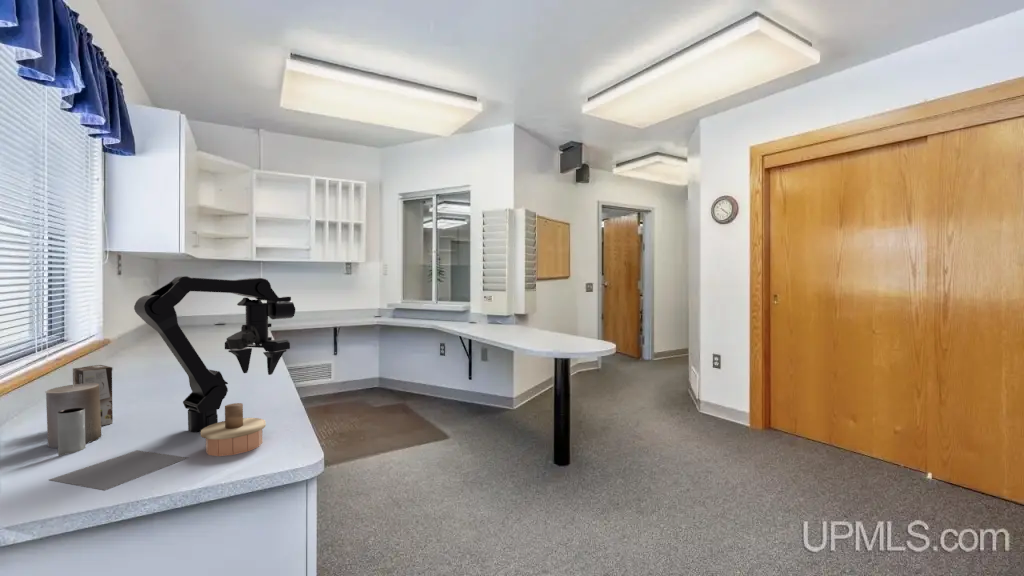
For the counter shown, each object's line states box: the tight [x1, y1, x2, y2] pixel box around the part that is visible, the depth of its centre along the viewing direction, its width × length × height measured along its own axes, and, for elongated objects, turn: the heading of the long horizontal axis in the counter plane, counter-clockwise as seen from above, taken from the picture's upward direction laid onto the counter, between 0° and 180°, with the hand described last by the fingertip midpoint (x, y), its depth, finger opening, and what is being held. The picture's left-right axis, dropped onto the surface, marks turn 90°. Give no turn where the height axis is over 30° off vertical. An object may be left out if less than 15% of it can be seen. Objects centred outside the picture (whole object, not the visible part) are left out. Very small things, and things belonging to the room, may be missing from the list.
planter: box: [57, 408, 87, 457], centre depth 103 cm, size 4×4×10 cm
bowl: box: [205, 429, 263, 457], centre depth 105 cm, size 11×11×5 cm
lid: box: [200, 402, 267, 440], centre depth 105 cm, size 13×13×6 cm
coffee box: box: [72, 364, 114, 427], centre depth 126 cm, size 9×6×16 cm
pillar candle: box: [44, 382, 102, 449], centre depth 112 cm, size 10×10×15 cm
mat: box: [48, 449, 190, 491], centre depth 93 cm, size 16×16×1 cm
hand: (257, 373), depth 130 cm, fingers open, 9 cm apart
